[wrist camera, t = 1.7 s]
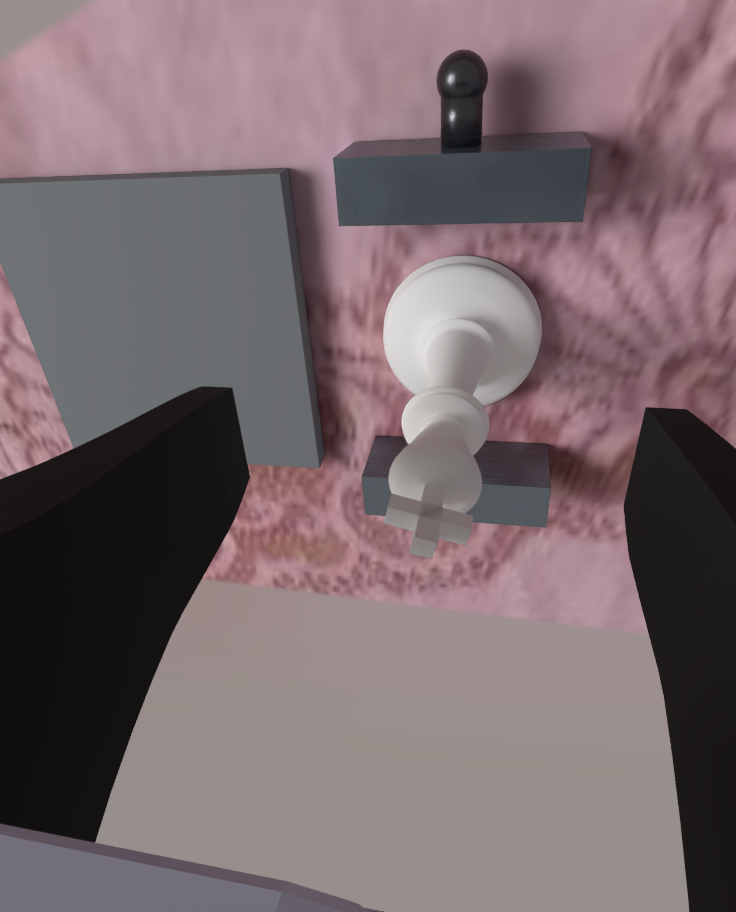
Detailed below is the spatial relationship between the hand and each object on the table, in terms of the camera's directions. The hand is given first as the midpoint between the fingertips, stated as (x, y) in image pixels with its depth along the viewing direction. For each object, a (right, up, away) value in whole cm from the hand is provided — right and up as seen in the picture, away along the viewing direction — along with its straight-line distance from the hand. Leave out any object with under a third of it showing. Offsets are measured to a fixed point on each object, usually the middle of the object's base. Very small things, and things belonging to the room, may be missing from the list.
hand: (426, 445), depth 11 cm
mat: (-8, +4, +11) cm, 14 cm away
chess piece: (+2, +4, +9) cm, 10 cm away
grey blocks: (+2, +4, +9) cm, 10 cm away
